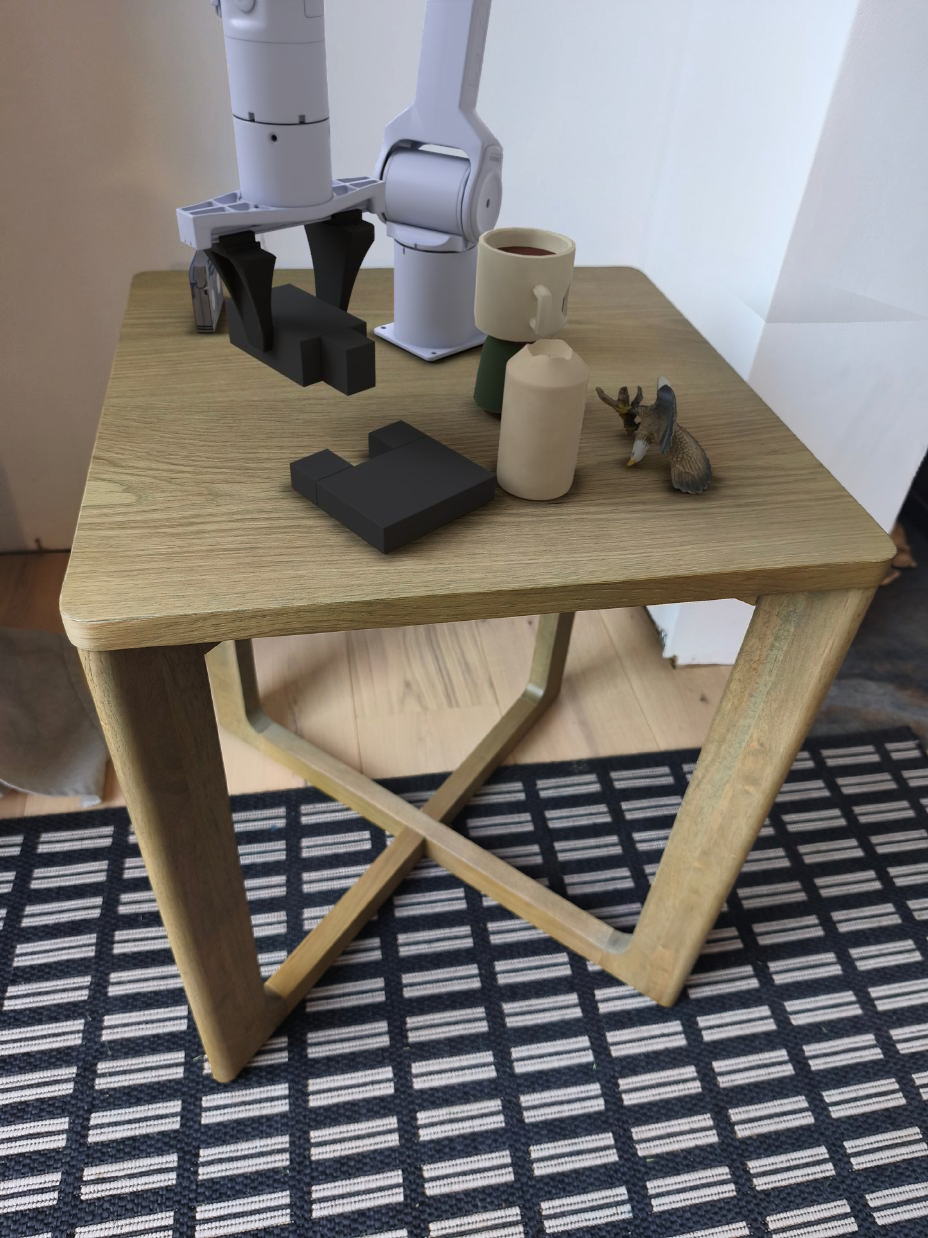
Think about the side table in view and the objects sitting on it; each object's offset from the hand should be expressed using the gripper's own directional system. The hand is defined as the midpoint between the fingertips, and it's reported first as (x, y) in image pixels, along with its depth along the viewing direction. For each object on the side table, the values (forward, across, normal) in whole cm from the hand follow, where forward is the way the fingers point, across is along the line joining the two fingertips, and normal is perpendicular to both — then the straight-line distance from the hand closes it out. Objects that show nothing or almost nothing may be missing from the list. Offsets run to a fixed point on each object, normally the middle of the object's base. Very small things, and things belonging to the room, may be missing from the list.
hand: (297, 335), depth 60 cm
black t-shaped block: (+1, 0, +1) cm, 2 cm away
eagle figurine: (+8, -18, +20) cm, 28 cm away
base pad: (+8, 0, +11) cm, 13 cm away
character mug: (+8, -16, +7) cm, 19 cm away
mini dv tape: (+8, -6, -24) cm, 26 cm away
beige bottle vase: (+8, -9, +16) cm, 20 cm away
